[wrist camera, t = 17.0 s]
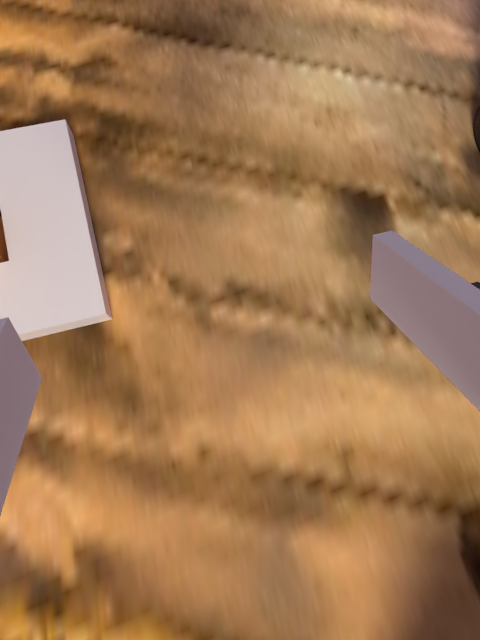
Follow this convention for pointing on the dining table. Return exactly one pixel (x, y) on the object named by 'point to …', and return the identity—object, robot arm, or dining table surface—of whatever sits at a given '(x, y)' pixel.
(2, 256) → the two-tone grey orange block
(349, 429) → the dining table surface
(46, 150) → the socket
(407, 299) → the robot arm
